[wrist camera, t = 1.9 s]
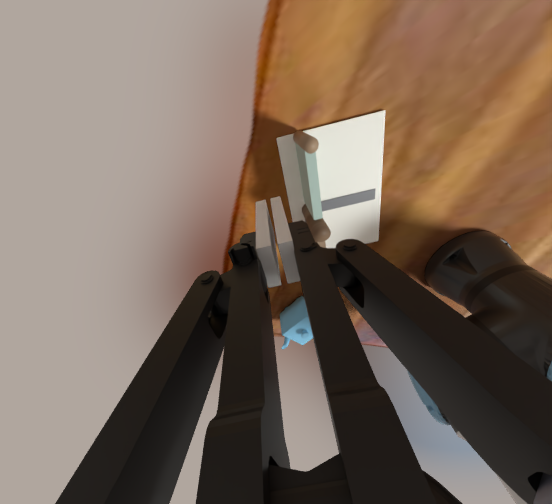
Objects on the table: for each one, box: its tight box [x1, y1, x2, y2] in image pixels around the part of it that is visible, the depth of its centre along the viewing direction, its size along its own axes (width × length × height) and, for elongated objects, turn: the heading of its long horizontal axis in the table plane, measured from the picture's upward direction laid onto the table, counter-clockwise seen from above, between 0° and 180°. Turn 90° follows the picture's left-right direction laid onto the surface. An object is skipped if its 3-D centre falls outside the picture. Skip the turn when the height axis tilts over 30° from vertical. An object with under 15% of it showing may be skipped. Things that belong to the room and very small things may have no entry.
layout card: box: [276, 110, 385, 248], centre depth 36 cm, size 21×15×1 cm
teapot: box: [280, 296, 313, 349], centre depth 47 cm, size 12×6×8 cm, turn 139°
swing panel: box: [293, 130, 323, 220], centre depth 29 cm, size 10×2×8 cm, turn 12°
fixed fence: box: [302, 204, 331, 248], centre depth 35 cm, size 11×2×9 cm, turn 12°
